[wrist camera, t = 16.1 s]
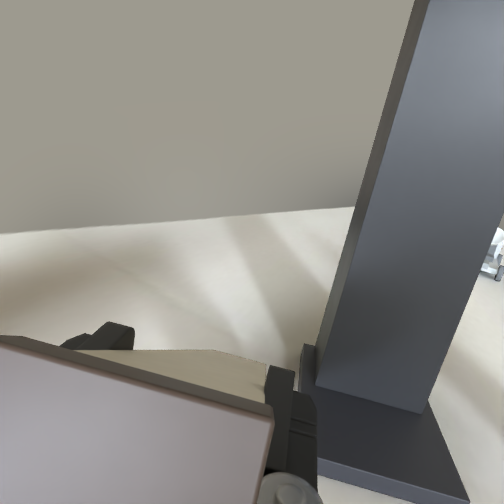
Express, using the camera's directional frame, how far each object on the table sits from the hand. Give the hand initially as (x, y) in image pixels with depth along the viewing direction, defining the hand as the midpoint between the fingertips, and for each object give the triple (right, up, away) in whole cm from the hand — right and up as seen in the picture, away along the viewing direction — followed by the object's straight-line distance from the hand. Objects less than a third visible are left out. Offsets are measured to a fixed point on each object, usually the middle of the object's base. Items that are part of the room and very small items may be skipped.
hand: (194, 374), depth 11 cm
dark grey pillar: (+10, -9, +18) cm, 22 cm away
